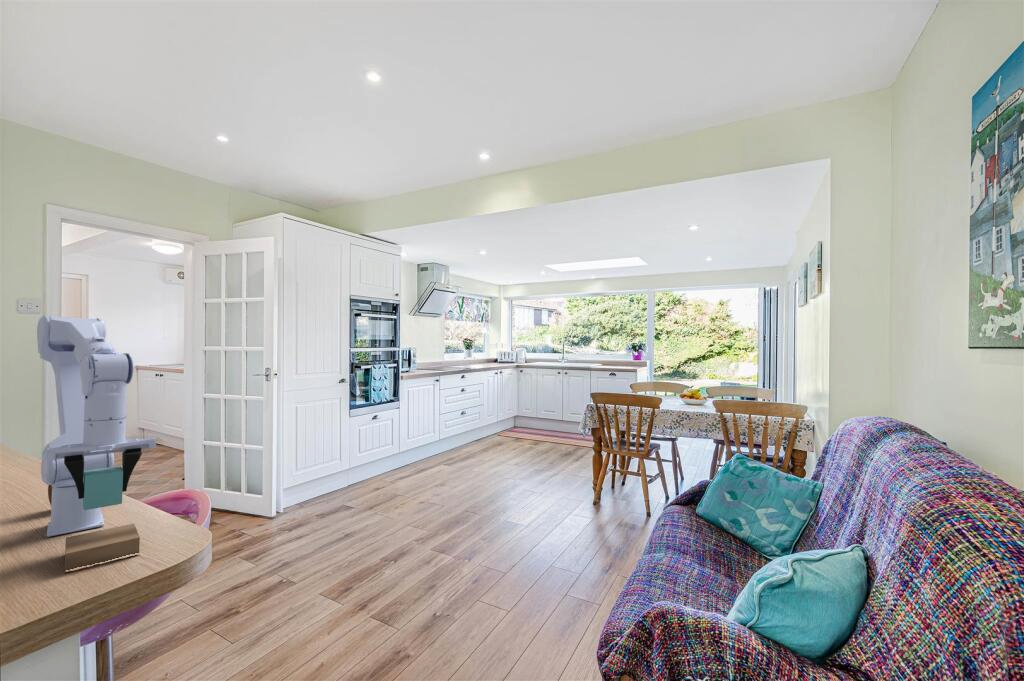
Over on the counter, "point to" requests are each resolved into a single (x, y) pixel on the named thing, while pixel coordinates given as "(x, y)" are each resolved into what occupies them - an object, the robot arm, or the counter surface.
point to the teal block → (102, 487)
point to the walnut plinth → (101, 546)
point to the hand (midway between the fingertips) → (102, 493)
